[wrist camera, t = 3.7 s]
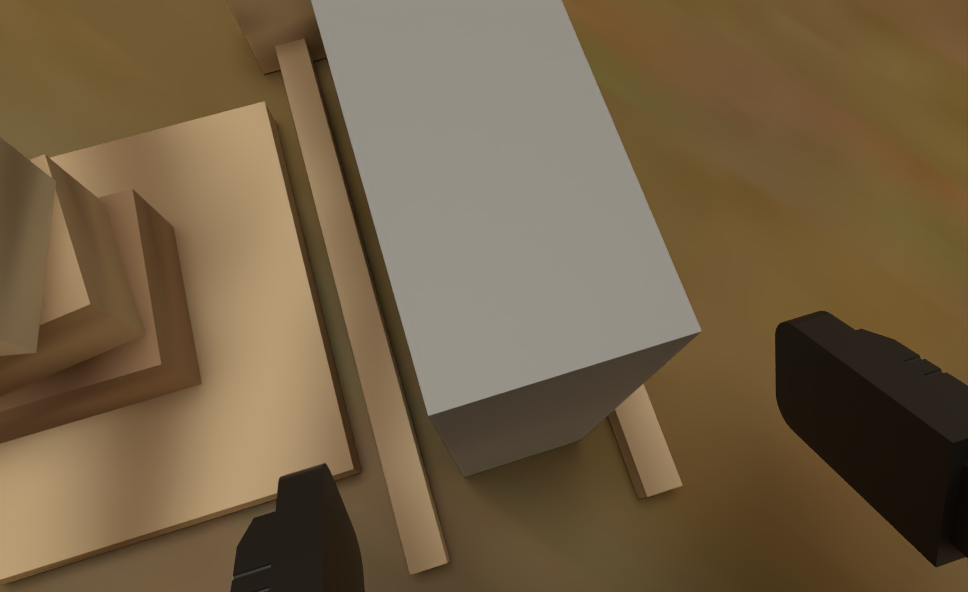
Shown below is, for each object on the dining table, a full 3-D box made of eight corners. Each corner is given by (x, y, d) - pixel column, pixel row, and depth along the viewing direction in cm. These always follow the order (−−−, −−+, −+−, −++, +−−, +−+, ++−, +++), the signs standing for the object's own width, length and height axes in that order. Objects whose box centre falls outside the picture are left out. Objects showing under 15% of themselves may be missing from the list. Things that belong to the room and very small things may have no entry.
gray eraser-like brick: (464, 477, 20) (428, 416, 8) (348, 78, 24) (218, -329, 12) (580, 440, 20) (702, 330, 8) (445, 53, 24) (405, -369, 13)
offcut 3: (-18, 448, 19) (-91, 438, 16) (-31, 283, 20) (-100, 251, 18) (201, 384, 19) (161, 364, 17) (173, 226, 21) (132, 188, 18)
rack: (14, 703, 18) (-115, 752, 14) (-35, 100, 23) (-136, 19, 20) (695, 479, 19) (746, 469, 16) (494, -33, 25) (495, -132, 21)
